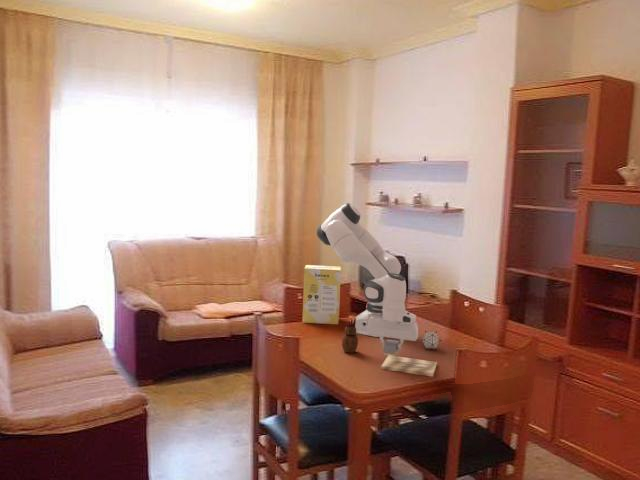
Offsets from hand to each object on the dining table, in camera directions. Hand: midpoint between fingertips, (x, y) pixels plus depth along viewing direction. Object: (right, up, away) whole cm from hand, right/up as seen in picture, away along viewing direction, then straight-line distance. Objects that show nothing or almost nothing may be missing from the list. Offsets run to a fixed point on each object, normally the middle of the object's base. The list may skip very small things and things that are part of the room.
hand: (391, 348), depth 214 cm
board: (+7, -7, -1) cm, 10 cm away
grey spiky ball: (+20, -5, +23) cm, 31 cm away
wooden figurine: (-16, -5, +15) cm, 22 cm away
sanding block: (0, -2, 0) cm, 2 cm away
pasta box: (-28, +1, +63) cm, 69 cm away
